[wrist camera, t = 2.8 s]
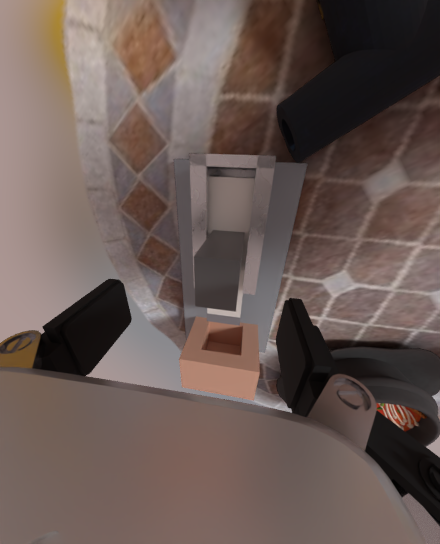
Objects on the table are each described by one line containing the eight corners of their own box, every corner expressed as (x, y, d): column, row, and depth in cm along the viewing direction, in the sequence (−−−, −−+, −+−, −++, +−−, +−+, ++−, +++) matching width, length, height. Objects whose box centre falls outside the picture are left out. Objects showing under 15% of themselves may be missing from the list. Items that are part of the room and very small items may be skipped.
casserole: (427, 315, 25) (498, 372, 18) (441, 394, 31) (498, 460, 24) (259, 356, 34) (261, 406, 27) (295, 411, 40) (305, 464, 33)
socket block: (196, 316, 30) (179, 359, 23) (257, 324, 29) (259, 372, 22) (196, 342, 33) (182, 387, 26) (253, 350, 32) (253, 400, 25)
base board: (177, 159, 21) (173, 158, 20) (304, 163, 19) (307, 163, 18) (188, 335, 34) (186, 340, 33) (264, 346, 33) (264, 352, 32)
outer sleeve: (207, 160, 20) (189, 153, 14) (268, 162, 19) (276, 155, 13) (207, 262, 25) (194, 287, 19) (254, 266, 24) (255, 294, 19)
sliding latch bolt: (215, 176, 19) (181, 176, 10) (256, 178, 19) (260, 180, 9) (212, 301, 26) (191, 369, 17) (241, 304, 26) (235, 377, 17)
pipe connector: (239, -20, 12) (633, -455, 6) (242, 35, 16) (468, -186, 11) (305, 161, 15) (581, -9, 10) (293, 163, 20) (477, 48, 15)
